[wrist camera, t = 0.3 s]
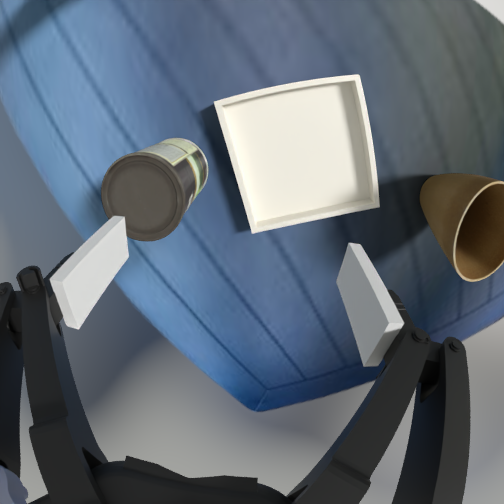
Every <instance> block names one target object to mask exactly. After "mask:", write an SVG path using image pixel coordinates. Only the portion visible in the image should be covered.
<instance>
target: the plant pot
mask: <svg viewBox="0 0 504 504" xmlns="http://www.w3.org/2000/svg"><path fill="white" fill-rule="evenodd" d="M420 204H421V207H422V210H423V212H424V215H425V217H426V219H427V222H428V224H429V226H430V228H431V230H432V232H433V234H434V236H435V237H436V239H437V241H438V243H439V245H440V246H441V248H442V250H443V251H444V253H445V255H446V256H447V258H448V259H449V261H450V263H451V264H452V266H453V267H454V269H455V270H456V272H457V273H458V274H459V276H460V277H461V278H463V279H464V280H466V281H471V282H473V281H479V280H482V279H484V278H486V277H488V276H490V275H491V274H492V273H494V272H495V271H496V270H497V269H498V268H499V267H500V266H501V265H502V264H503V262H504V182H503V181H499V180H496V179H492V178H488V177H484V176H479V175H472V174H460V173H451V174H440V175H434V176H432V177H430V178H428V179H427V180H426V181H425V183H424V184H423V186H422V188H421V191H420Z"/></svg>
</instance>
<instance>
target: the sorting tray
mask: <svg viewBox="0 0 504 504" xmlns="http://www.w3.org/2000/svg"><path fill="white" fill-rule="evenodd" d="M214 104H215V108H216V111H217V114H218V118H219V121H220V125H221V128H222V131H223V135H224V138H225V142H226V145H227V148H228V152H229V155H230V159H231V162H232V165H233V169H234V172H235V176H236V179H237V183H238V186H239V189H240V193H241V196H242V200H243V203H244V207H245V210H246V214H247V217H248V220H249V224H250V227H251V231H252V233H257V232H261V231H266V230H270V229H275V228H280V227H284V226H289V225H294V224H299V223H303V222H308V221H313V220H318V219H323V218H327V217H332V216H337V215H342V214H347V213H352V212H357V211H362V210H367V209H372V208H377V207H380V204H379V192H378V181H377V172H376V163H375V156H374V148H373V142H372V135H371V129H370V123H369V118H368V112H367V107H366V102H365V98H364V93H363V89H362V84H361V80H360V76H359V75H348V76H338V77H329V78H321V79H314V80H307V81H301V82H295V83H290V84H284V85H279V86H274V87H269V88H265V89H260V90H256V91H252V92H248V93H244V94H240V95H236V96H232V97H229V98H225V99H222V100H218V101H215V102H214Z"/></svg>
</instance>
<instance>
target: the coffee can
mask: <svg viewBox="0 0 504 504" xmlns="http://www.w3.org/2000/svg"><path fill="white" fill-rule="evenodd" d="M207 177H208V164H207V160H206V157H205V155H204V154H203V152H202V151H201V149H200V148H199V147H198V146H197V145H195V144H194V143H192V142H191V141H188V140H186V139H182V138H171V139H167V140H164V141H162V142H160V143H158V144H155V145H152V146H150V147H147V148H145V149H142V150H140V151H138V152H135V153H131V154H127V155H125V156H123V157H121V158H119V159H118V160H116V161H115V162H114V163H113V164H112V165H111V166H110V167H109V169H108V170H107V172H106V174H105V176H104V179H103V182H102V187H101V199H102V204H103V208H104V210H105V213H106V215H107V217H108V219H109V220H110V219H111V218H112V217H113V216H122V217H125V226H126V236H128V237H130V238H132V239H135V240H139V241H155V240H159V239H162V238H164V237H166V236H167V235H169V234H170V233H171V232H172V231H173V230H174V229H175V228H176V227H177V226H178V224H179V223H180V221H181V219H182V217H183V215H184V213H185V212H186V211H187V209H188V208H189V206H190V205H191V203H192V202H193V200H194V199H195V197H196V196H197V195H198V193H199V192H200V191H201V190H202V189H203V187H204V185H205V183H206V181H207Z"/></svg>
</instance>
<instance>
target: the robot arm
mask: <svg viewBox="0 0 504 504" xmlns="http://www.w3.org/2000/svg"><path fill="white" fill-rule="evenodd" d="M128 257H129V254H128V245H127V236H126V226H125V217H122V216H113V217H112V218H111V219H110V220H108V221H107V222H106V223H105V224H104V225H103V226H102V227H101V228H100V229H99V230H98V231H96V232H95V233H94V234H93V235H92V236H91V237H90V238H89V239H88V240H87V241H86V242H85V243H84V244H83V245H82V246H81V247H80V248H79V249H78V250H77V251H76V252H75V253H71V254H69V255H67V256H66V257H64V259H63V260H61V261H60V263H59V264H58V265H57V266H56V267H55V268H54V269H53V270H52V271H51V272H50V273H49V274H48V275H47V276H46V277H45V278H44V279H43V277H42V274H41V271H40V268H39V267H37V266H29V267H26V268H24V269H23V270H21V271H20V272H19V273H18V274H17V277H16V278H17V281H18V283H19V286H20V288H21V291H14V290H13V287H12V285H11V283H9V282H4V283H1V284H0V504H27V503H26V501H25V499H26V498H27V497H28V492H27V489H26V488H25V487H24V486H23V485H22V482H21V481H20V466H21V464H20V463H21V462H20V434H19V433H20V428H19V427H20V424H19V423H20V398H21V385H22V375H23V367H24V368H25V376H26V384H27V391H28V397H29V403H30V408H31V413H32V417H33V423H34V425H33V426H31V427H30V428H29V434H30V439H31V443H32V447H33V450H34V454H35V457H36V460H37V463H38V466H39V469H40V472H41V475H42V478H43V481H44V483H45V485H46V488H47V491H48V493H49V494H47V495H45V496H43V497H41V498H39V499H37V500H35V501H33V502H31V503H28V504H359V502H360V501H361V499H362V498H363V497H364V495H365V494H366V492H367V490H368V489H369V487H370V484H371V482H370V480H369V479H370V477H371V475H372V473H373V471H374V470H375V468H376V467H377V465H378V463H379V462H380V460H381V458H382V456H383V455H384V453H385V451H386V449H387V447H388V446H389V444H390V442H391V440H392V438H393V436H394V434H395V432H396V430H397V428H398V426H399V424H400V422H401V420H402V418H403V416H404V414H405V411H406V409H407V407H408V405H409V403H410V400H411V398H412V395H413V393H414V391H415V388H416V396H415V404H414V411H413V419H412V425H411V430H410V436H409V441H408V446H407V450H406V455H405V459H404V463H403V467H402V471H401V475H400V478H399V482H398V485H397V489H396V492H395V495H394V498H393V502H392V504H462V500H463V495H464V489H465V483H466V476H467V468H468V459H469V444H470V390H469V377H468V367H467V357H466V350H465V347H464V345H463V344H462V342H461V341H460V340H458V339H456V338H454V337H447V338H446V339H445V340H444V342H443V343H442V344H440V343H437V342H433V341H431V339H430V337H429V335H428V334H427V333H426V332H425V331H423V330H422V329H420V328H416V327H415V326H414V324H413V322H412V320H411V318H410V316H409V315H408V313H407V311H406V310H405V307H404V305H402V302H401V300H400V298H399V296H398V295H396V294H395V293H394V292H393V291H392V290H387V289H386V287H385V286H384V284H383V282H382V280H381V278H380V277H379V275H378V273H377V271H376V270H375V268H374V266H373V265H372V263H371V261H370V259H369V258H368V256H367V254H366V253H365V251H364V249H363V248H362V246H361V245H360V244H355V243H348V246H347V250H346V253H345V256H344V259H343V263H342V266H341V269H340V272H339V275H338V278H337V281H336V282H337V285H338V288H339V291H340V293H341V296H342V299H343V302H344V305H345V308H346V311H347V314H348V317H349V320H350V323H351V326H352V330H353V333H354V336H355V339H356V342H357V346H358V349H359V352H360V356H361V359H362V362H363V366H378V365H379V363H380V362H381V360H382V359H383V357H384V360H385V363H386V365H385V366H384V367H383V369H382V370H381V372H380V373H379V375H378V376H377V377H376V381H375V383H374V385H373V386H372V388H371V389H370V391H369V393H368V394H367V396H366V398H365V399H364V401H363V402H362V404H361V405H360V407H359V408H358V410H357V412H356V413H355V415H354V416H353V417H352V419H351V420H350V422H349V423H348V425H347V426H346V427H345V429H344V430H343V432H342V433H341V435H340V436H339V437H338V438H337V440H336V441H335V442H334V444H333V445H332V446H331V447H330V449H329V450H328V451H327V453H326V454H325V455H324V456H323V458H322V459H321V460H320V461H319V462H318V464H317V465H316V466H315V467H314V468H313V469H312V471H311V472H310V473H309V474H308V475H307V476H306V477H305V478H304V479H303V480H302V481H301V482H300V483H299V484H298V485H297V486H296V487H295V488H294V489H293V490H292V491H291V492H290V493H289V494H288V495H287V496H284V495H283V494H282V493H280V492H279V491H277V490H275V489H273V488H271V487H268V486H266V485H263V484H259V483H257V479H258V478H250V477H234V476H225V475H224V476H214V477H202V478H187V477H184V476H182V475H180V474H177V473H175V472H173V471H171V470H169V469H166V468H164V467H162V466H160V465H158V464H155V463H151V462H147V461H144V460H140V459H136V458H133V457H130V456H126V459H125V461H113V462H108V460H107V459H106V457H105V455H104V454H103V452H102V451H101V449H100V448H99V446H98V444H97V442H96V440H95V437H94V435H93V433H92V430H91V428H90V425H89V423H88V420H87V417H86V415H85V412H84V409H83V406H82V404H81V400H80V397H79V394H78V391H77V388H76V385H75V381H74V378H73V374H72V371H71V367H70V363H69V359H68V355H67V351H66V346H65V342H64V337H63V332H62V327H61V325H60V323H59V322H60V320H61V319H62V318H64V320H65V323H66V325H67V326H69V327H73V328H75V329H79V328H80V327H81V325H82V324H83V322H84V320H85V319H86V317H87V316H88V314H89V313H90V311H91V309H92V308H93V307H94V305H95V304H96V302H97V301H98V299H99V298H100V296H101V295H102V293H103V292H104V291H105V289H106V288H107V286H108V285H109V283H110V282H111V280H112V279H113V278H114V276H115V275H116V274H117V272H118V271H119V269H120V268H121V267H122V265H123V264H124V263H125V261H126V260H127V259H128Z"/></svg>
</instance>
